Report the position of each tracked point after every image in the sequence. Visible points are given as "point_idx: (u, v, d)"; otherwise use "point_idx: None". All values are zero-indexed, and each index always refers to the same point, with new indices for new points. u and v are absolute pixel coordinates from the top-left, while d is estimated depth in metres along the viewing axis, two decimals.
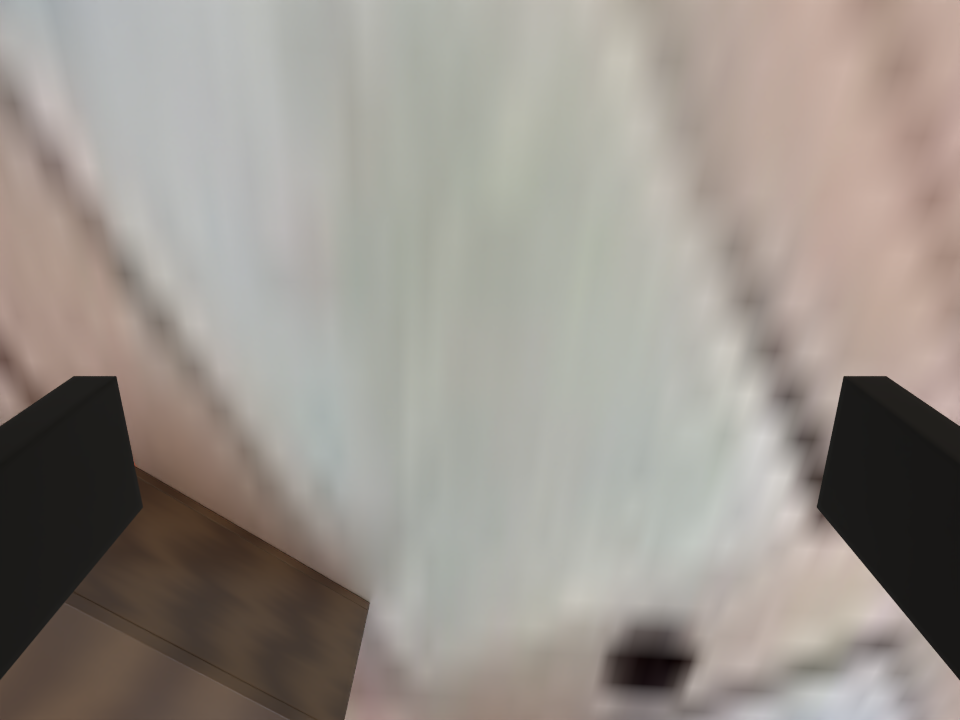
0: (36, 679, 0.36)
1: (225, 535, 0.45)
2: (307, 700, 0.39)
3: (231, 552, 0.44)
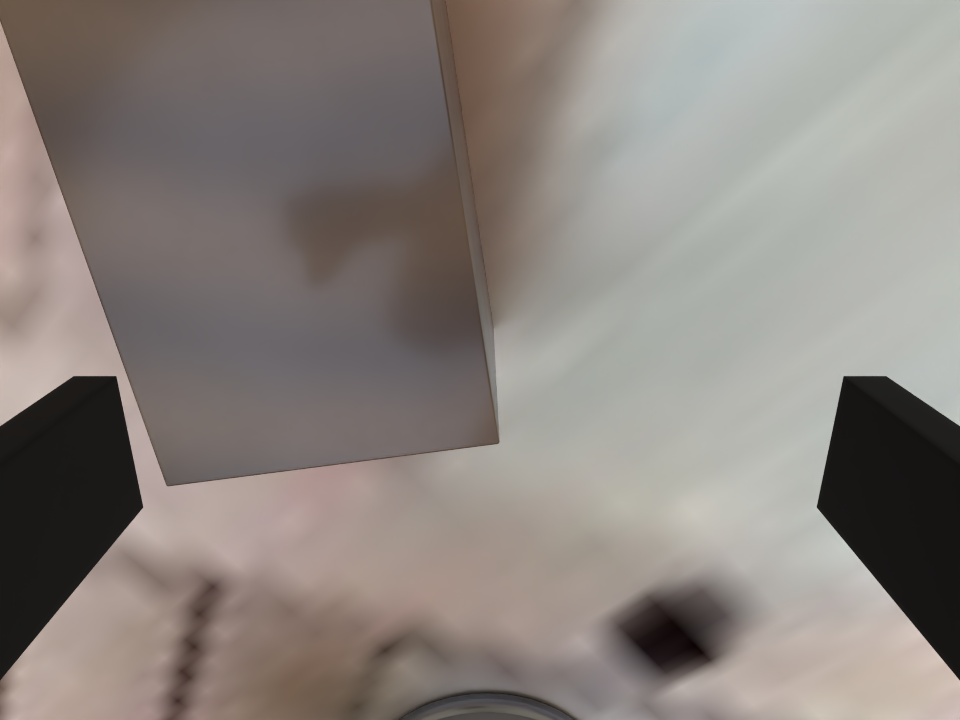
0: None
1: (455, 77, 0.27)
2: (488, 352, 0.22)
3: (458, 100, 0.26)
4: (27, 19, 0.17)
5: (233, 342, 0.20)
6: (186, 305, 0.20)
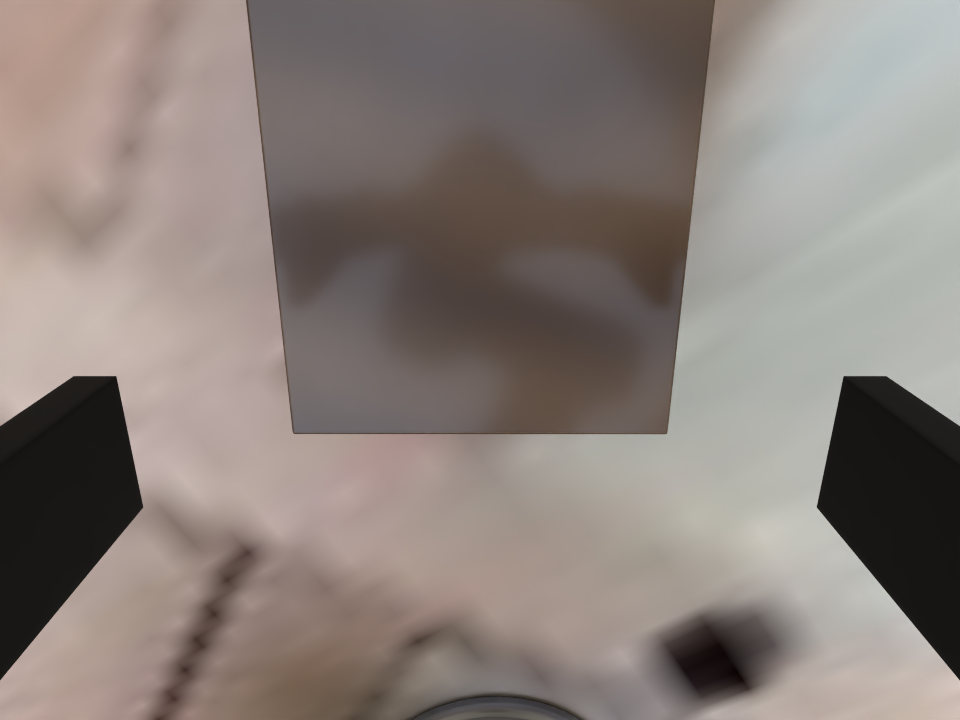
0: None
1: None
2: None
3: None
4: None
5: (407, 283, 0.18)
6: (365, 234, 0.18)
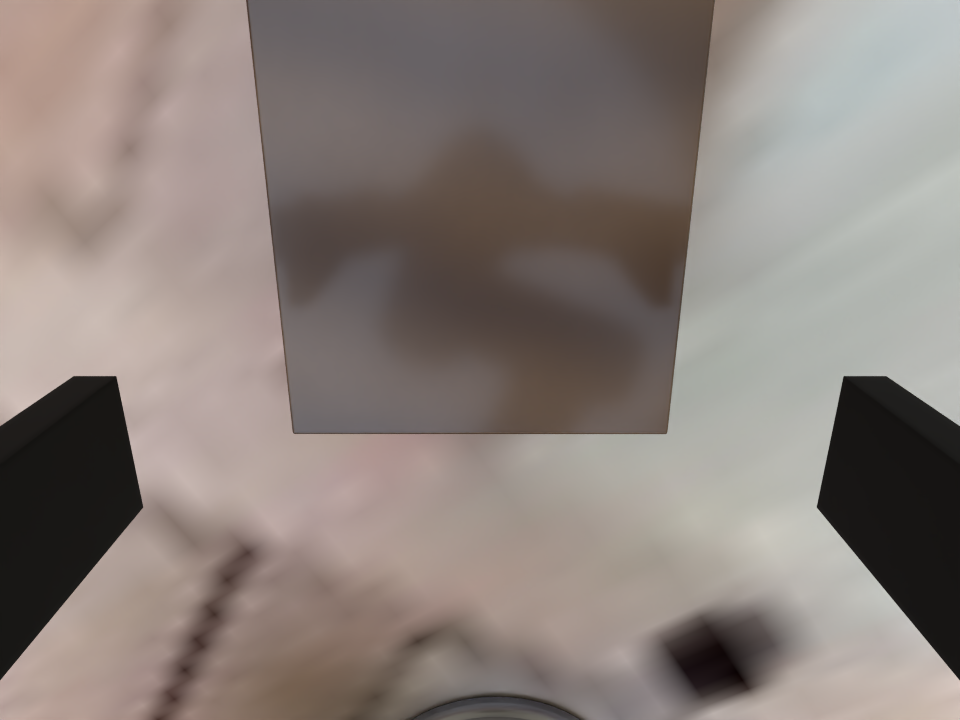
0: None
1: None
2: None
3: None
4: None
5: (407, 283, 0.18)
6: (365, 234, 0.18)
